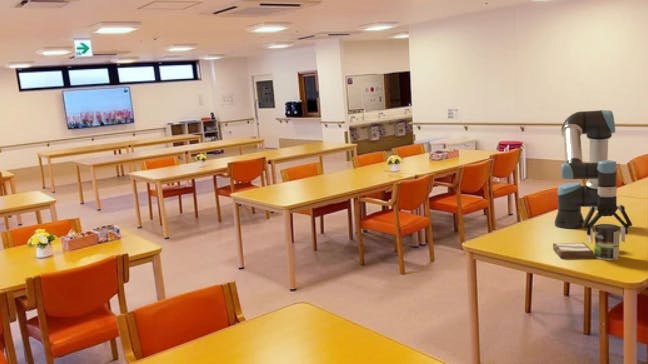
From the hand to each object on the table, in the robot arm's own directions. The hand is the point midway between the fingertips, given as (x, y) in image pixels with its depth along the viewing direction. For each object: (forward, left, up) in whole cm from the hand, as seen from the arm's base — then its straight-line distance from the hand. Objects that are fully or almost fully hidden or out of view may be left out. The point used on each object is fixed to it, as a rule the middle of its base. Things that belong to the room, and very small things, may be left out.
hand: (606, 241), depth 247 cm
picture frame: (-6, -13, -7) cm, 16 cm away
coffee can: (0, 0, -7) cm, 7 cm away
